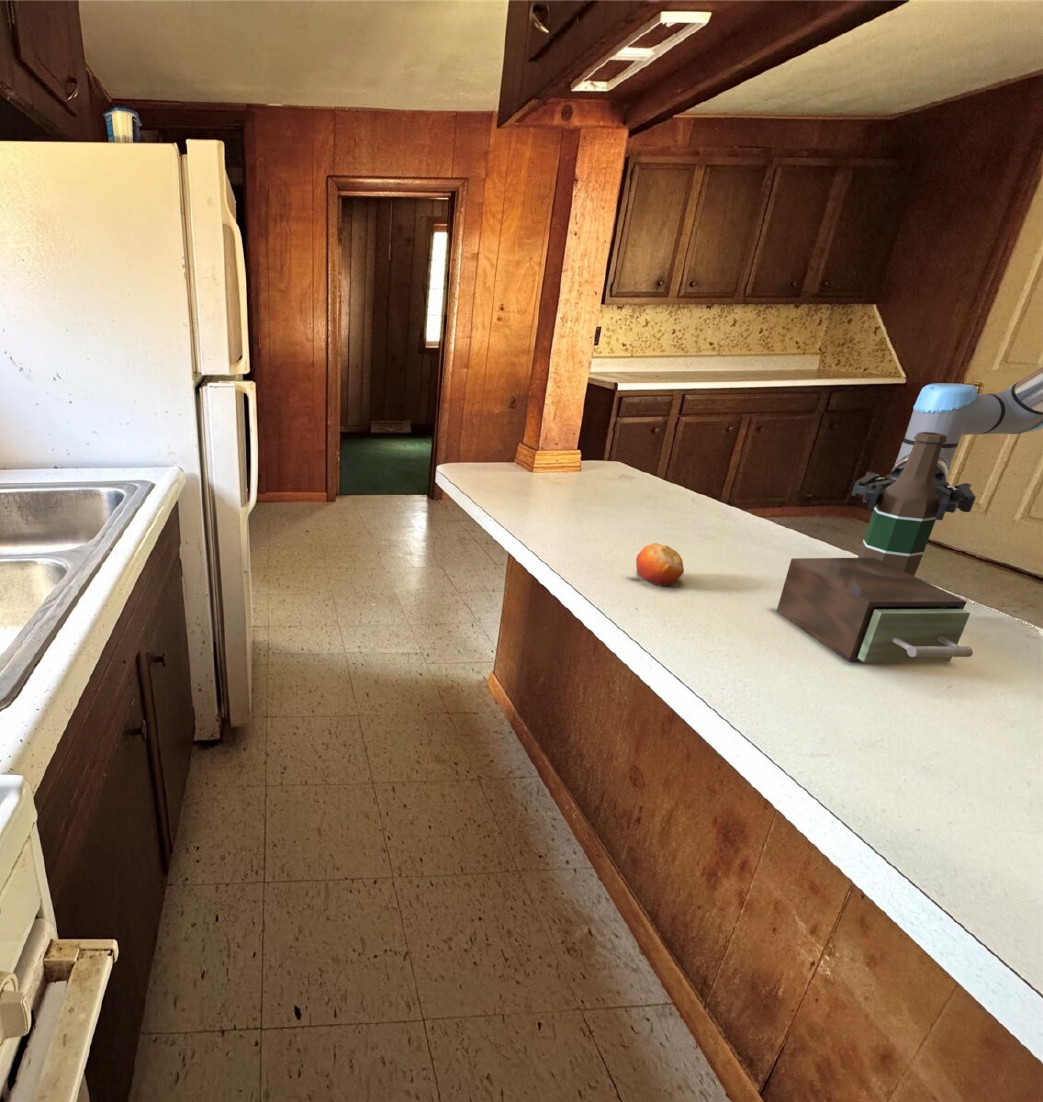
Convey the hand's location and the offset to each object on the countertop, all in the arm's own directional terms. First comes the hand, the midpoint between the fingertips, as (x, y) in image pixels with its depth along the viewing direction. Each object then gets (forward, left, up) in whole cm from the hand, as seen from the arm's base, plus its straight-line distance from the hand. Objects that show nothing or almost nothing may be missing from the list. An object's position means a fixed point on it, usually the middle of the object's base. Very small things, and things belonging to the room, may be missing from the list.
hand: (906, 506), depth 97 cm
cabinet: (+12, +11, -17) cm, 24 cm away
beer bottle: (-3, -4, -13) cm, 14 cm away
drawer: (+12, +16, -16) cm, 25 cm away
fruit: (+32, -9, -17) cm, 37 cm away
